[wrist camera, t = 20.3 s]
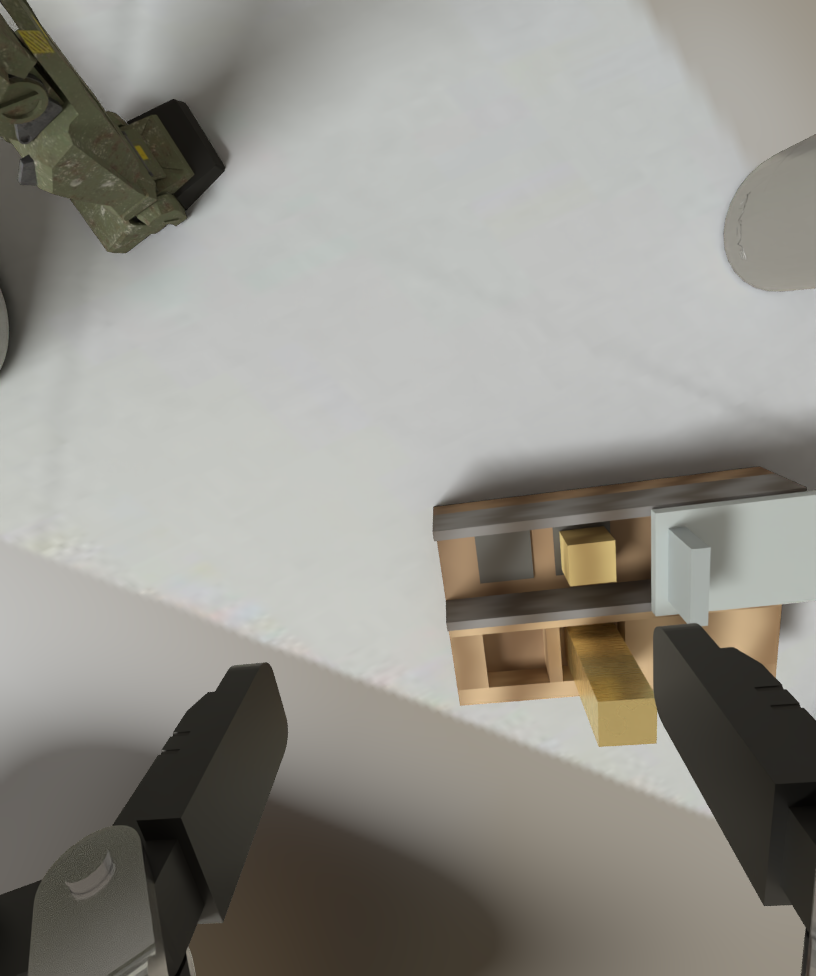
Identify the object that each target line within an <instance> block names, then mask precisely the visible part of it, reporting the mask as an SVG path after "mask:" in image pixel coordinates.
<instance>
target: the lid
mask: <svg viewBox="0 0 816 976" xmlns="http://www.w3.org/2000/svg"><path fill="white" fill-rule="evenodd" d="M811 601H816V490H813V491H805V492H796V493H788V494H779V495H771V496H762V497H754V498H745V499H737V500H728V501H720V502H711V503H703V504H694V505H686V506H677V507H669V508H660V509H652V510H651V609H652V612H653V613H654V615H655V616H665V615H676V614H679V615H680V616H681V617H682V618H683V619H684V621H685V622H686V623H687V624H689V623H697V624H699V625H700V626H708V612H709V611H717V610H728V609H738V608H749V607H759V606H769V605H780V604H790V603H801V602H811Z"/></svg>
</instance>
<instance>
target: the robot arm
mask: <svg viewBox="0 0 816 976" xmlns="http://www.w3.org/2000/svg"><path fill="white" fill-rule="evenodd" d="M724 248H725V251H726V255H727V258H728V261H729V263H730V265H731V266H732V268H733V270H734V272H735V273H736V274H737V275H738V276H739V277H740V278H741V279H742V280H743V281H744V282H746V283H748V284H750V285H751V286H753V287H755V288H758V289H762V290H765V291H777V292H783V291H794V290H804V289H815V288H816V134H815V135H813V136H811V137H809V138H807V139H805V140H803V141H801V142H799V143H797V144H795V145H793V146H791V147H789V148H787V149H786V150H784V151H781V152H779V153H778V154H776V155H774V156H772V157H771V158H769V159H768V160H766V161H764V162H763V163H761V164H760V165H759V166H758V167H757V168H756V169H755V170H754V171H753V172H752V173H751V174H749V176H748V177H747V178H746V179H745V181H744V182H743V183H742V185H741V186H740V187H739V188H738V190H737V192H736V194H735V196H734V198H733V200H732V201H731V203H730V206H729V209H728V213H727V216H726V219H725V226H724ZM653 692H654V699H655V704H656V707H657V711H658V714H659V717H660V719H661V721H662V723H663V725H664V727H665V729H666V731H667V733H668V734H669V736H670V738H671V740H672V742H673V743H674V745H675V747H676V749H677V751H678V752H679V754H680V756H681V758H682V760H683V761H684V763H685V765H686V767H687V769H688V770H689V772H690V774H691V776H692V778H693V779H694V781H695V783H696V785H697V787H698V788H699V790H700V792H701V794H702V796H703V797H704V799H705V801H706V803H707V805H708V806H709V808H710V810H711V812H712V813H713V815H714V817H715V819H716V821H717V822H718V824H719V826H720V828H721V830H722V831H723V833H724V835H725V837H726V839H727V840H728V842H729V844H730V846H731V848H732V849H733V851H734V853H735V855H736V857H737V858H738V860H739V862H740V864H741V866H742V867H743V869H744V871H745V873H746V875H747V876H748V878H749V880H750V882H751V884H752V885H753V887H754V889H755V891H756V893H757V894H758V896H759V898H760V900H761V902H762V903H763V905H764V906H777V905H793V907H794V909H795V910H796V912H797V914H798V915H799V917H800V918H801V920H802V922H803V924H804V925H805V927H806V929H805V937H804V946H803V956H802V957H803V958H802V967H801V976H816V720H815V719H814V718H813V717H812V716H811V715H810V714H809V713H808V712H807V711H806V710H805V709H804V708H801V707H800V705H799V702H798V701H797V700H796V699H795V698H794V697H793V696H792V695H791V694H790V693H789V692H788V691H787V690H786V689H785V690H784V689H783V687H782V684H781V683H780V682H779V681H778V680H777V679H776V678H775V677H774V676H773V675H772V674H771V673H770V672H769V671H768V670H767V669H766V667H765V666H764V665H763V664H762V663H760V662H758V661H757V660H755V659H753V658H751V657H750V656H748V655H746V654H745V653H743V652H741V651H740V650H738V649H736V648H735V647H726V648H720V647H719V646H718V645H717V644H716V643H715V641H714V640H713V639H712V638H711V637H710V636H709V635H708V633H707V632H706V631H705V630H704V629H703V628H702V627H701V626H700V625H699V624H697V623H689V624H679V625H668V626H658V627H655V629H654V632H653ZM287 738H288V725H287V719H286V715H285V712H284V708H283V704H282V701H281V697H280V694H279V690H278V687H277V683H276V680H275V676H274V673H273V670H272V668H271V666H270V664H268V663H256V664H244V665H234V666H232V667H230V668H229V670H228V671H227V673H226V674H225V676H224V678H223V679H222V681H221V683H220V685H219V686H218V688H217V689H216V691H215V692H208V693H207V694H205V695H204V696H203V697H202V698H201V699H200V700H199V701H198V702H197V703H196V704H194V705H193V706H192V707H191V708H190V709H189V710H188V711H187V712H186V713H185V715H184V716H183V718H182V719H181V721H180V723H179V724H178V726H177V727H176V729H175V731H174V732H173V737H170V738H169V740H168V741H167V742H166V744H165V746H164V747H163V749H162V753H161V755H158V756H157V758H156V759H155V761H154V762H153V764H152V766H151V767H150V769H149V770H148V772H147V773H146V775H145V776H144V778H143V779H142V781H141V782H140V784H139V785H138V787H137V788H136V790H135V792H134V793H133V795H132V796H131V798H130V799H129V801H128V802H127V804H126V805H125V807H124V808H123V810H122V811H121V813H120V815H119V816H118V818H117V819H116V821H115V822H114V824H113V825H112V826H110V827H106V828H103V829H101V830H98V831H96V832H94V833H92V834H90V835H88V836H86V837H85V838H83V839H82V840H80V841H79V842H77V843H76V844H75V845H73V846H72V847H71V848H69V849H68V850H67V851H66V852H65V853H64V854H63V855H62V856H61V857H60V858H59V859H58V860H57V861H56V862H55V863H54V864H53V866H52V867H51V868H50V869H49V870H48V872H47V873H46V875H45V876H44V878H43V879H42V880H40V881H37V882H35V883H32V884H29V885H27V886H24V887H21V888H18V889H15V890H13V891H10V892H7V893H4V894H2V895H0V976H196V975H195V970H194V965H193V960H192V955H191V953H190V950H189V948H188V946H189V943H190V941H191V938H192V936H193V933H194V931H195V928H196V926H197V924H204V923H223V921H224V918H225V915H226V913H227V910H228V907H229V904H230V902H231V899H232V896H233V893H234V891H235V888H236V885H237V882H238V880H239V877H240V874H241V871H242V869H243V866H244V863H245V860H246V858H247V855H248V852H249V849H250V846H251V844H252V841H253V838H254V835H255V833H256V830H257V827H258V824H259V822H260V819H261V816H262V813H263V811H264V808H265V805H266V802H267V799H268V796H269V794H270V791H271V788H272V786H273V783H274V780H275V777H276V774H277V772H278V769H279V766H280V763H281V761H282V758H283V755H284V752H285V749H286V745H287Z"/></svg>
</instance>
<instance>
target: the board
mask: <svg viewBox="0 0 816 976" xmlns="http://www.w3.org/2000/svg"><path fill="white" fill-rule="evenodd" d="M805 491H807V487H805V486H802V485H800V484H798V483H796V482H793V481H791V480H789V479H787V478H784V477H782V476H780V475H778V474H775V473H773V472H771V471H769V470H766V469H764V468H762V467H760V466H759V467H751V468H743V469H735V470H727V471H719V472H711V473H703V474H695V475H687V476H679V477H671V478H663V479H655V480H646V481H638V482H630V483H622V484H614V485H606V486H598V487H590V488H582V489H574V490H566V491H558V492H550V493H542V494H534V495H526V496H518V497H510V498H501V499H493V500H485V501H477V502H469V503H461V504H453V505H445V506H437V507H433V538H434V541H437V544H438V551H439V558H440V564H441V571H442V578H443V584H444V591H445V598H446V623H447V630H448V631H449V635H450V641H451V648H452V655H453V661H454V668H455V675H456V681H457V688H458V694H459V701H460V706H461V705H474V704H486V703H498V702H511V701H523V700H536V699H548V698H560V697H573V696H580V695H579V693H578V690H577V687H576V685H575V682H574V679H573V677H572V674H571V671H570V669H569V666H568V663H567V661H566V658H565V639H564V627H567V626H578V625H588V624H598V623H609V622H613V623H614V624H615V626H616V628H617V629H618V631H619V633H620V635H621V636H622V638H623V640H624V641H625V643H626V645H627V647H628V648H629V650H630V652H631V653H632V655H633V657H634V659H635V660H636V662H637V664H638V666H639V667H640V669H641V671H642V672H643V674H644V676H645V678H646V679H647V681H648V683H649V684H650V686H651V688H652V690H653V632H654V629H655V627H658V626H668V625H679V624H687V623H686V622H685V621H684V619H683V618H682V617H681V616H680V615H679V614H676V615H665V616H655V615H654V613H653V612H652V609H651V510H652V509H660V508H669V507H677V506H686V505H694V504H703V503H711V502H720V501H728V500H737V499H745V498H754V497H762V496H771V495H779V494H788V493H796V492H805ZM781 609H782V604H780V605H769V606H759V607H749V608H738V609H728V610H717V611H709V612H708V626H701V627H702V628H703V629H704V630H705V631H706V632H707V633H708V635H709V636H710V637H711V638H712V639H713V640H714V641H715V643H716V644H717V645H718V646H719V647H720V648H726V647H735V648H736V649H738V650H740V651H741V652H743V653H745V654H746V655H748V656H750V657H751V658H753V659H755V660H757V661H758V662H760V663H762V664H763V665H764V666H765V667H766V669H767V670H768V671H769V672H770V673H771V674H772V675H773V676H774V677H775V678H776V666H777V655H778V643H779V632H780V620H781Z"/></svg>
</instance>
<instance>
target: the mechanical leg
mask: <svg viewBox="0 0 816 976" xmlns="http://www.w3.org/2000/svg"><path fill="white" fill-rule="evenodd" d="M0 2H1V4H2V5H3V6H4V8H5V9H6V10H7V12H8V13H9V14H10V16H11V17H12V19H13V20H14V22H15V23H16V25H17V26H18V28H19V29H18V30H17V31H15V32H13V30H12V29H11V28H10V27H9V25H8V24H7V23H6V21H5V20H4V18H3V17H2V15H1V14H0V136H1V137H3V138H4V139H5V141H6V142H9V143H11V144H13V146H14V147H15V148H16V150H17V151H18V152H19V154H20V155H21V157H22V159H20V164H19V172H18V179H17V181H18V182H19V183H20V185H37V186H38V188H40V189H42V190H44V191H47V192H49V193H52V194H55V195H59V196H62V197H66V198H70V200H71V201H72V202H73V204H74V205H75V207H76V208H77V210H78V211H79V212H80V214H81V215H82V217H83V218H84V219H85V221H86V222H87V224H88V225H89V226H90V228H91V229H92V231H93V232H94V234H95V235H96V236H97V238H98V239H99V241H100V242H101V243H102V245H103V246H104V248H105V249H106V250H107V252H112V253H127V252H128V251H129V250H131V249H132V248H133V247H135V246H136V245H137V244H138V243H140V242H141V241H142V240H144V239H145V238H146V237H147V236H149V235H150V234H156V233H158V232H159V231H160V230H161V229H163V228H164V227H165V226H166V225H167V224H172V225H174V226H177V225H179V224H180V223H181V222H183V221H184V220H185V219H187V217H186V213H185V210H184V207H185V209H186V210H187V209H188V208H189V207H190V205H191V204H192V203H193V202H194V201H195V200H196V199H197V198H198V197H199V196H200V195H201V194H202V193H203V192H204V191H205V190H206V189H207V188H208V187H209V186H210V185H211V184H212V183H213V182H214V181H215V180H216V179H217V178H218V177H219V176H220V175H221V174H222V173H223V172H224V169H225V167H224V165H223V163H222V161H221V159H220V158H219V156H218V155H217V153H216V151H215V150H214V148H213V147H212V145H211V143H210V142H209V140H208V138H207V137H206V135H205V134H204V132H203V130H202V129H201V127H200V126H199V124H198V122H197V121H196V119H195V118H194V116H193V114H192V113H191V111H190V109H189V108H188V106H187V105H186V104H185V103H184V102H181V101H178V100H174V99H172V100H170V101H168V102H166V103H164V104H162V105H160V106H158V107H156V108H154V109H152V110H150V111H148V112H146V113H144V114H142V115H140V116H138V117H136V118H134V119H132V120H130V121H128V122H127V123H128V124H129V125H128V124H127V123H126V122H125V121H124V120H122V119H121V118H120V117H119V116H118V115H117V114H116V113H113V112H110V111H107V112H105V110H104V109H103V107H102V106H101V104H100V103H99V101H98V99H97V98H96V96H95V95H94V94H93V92H92V91H91V90H90V89H89V87H88V86H87V85H86V83H85V82H84V81H83V80H82V78H81V77H80V76H79V75H78V73H77V72H76V71H75V69H74V68H73V67H72V65H71V64H70V63H69V61H68V60H67V58H66V57H65V56H64V54H63V53H62V52H61V50H60V49H59V48H58V46H57V45H56V44H55V42H54V41H53V40H52V38H51V37H50V36H49V34H48V33H47V32H46V30H45V29H44V28H43V27H42V25H41V24H40V22H39V21H38V19H37V17H36V16H35V14H34V12H33V10H32V9H31V7H30V5H29V4H28V2H27V1H26V0H0ZM182 205H183V206H184V207H183V206H182Z"/></svg>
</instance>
